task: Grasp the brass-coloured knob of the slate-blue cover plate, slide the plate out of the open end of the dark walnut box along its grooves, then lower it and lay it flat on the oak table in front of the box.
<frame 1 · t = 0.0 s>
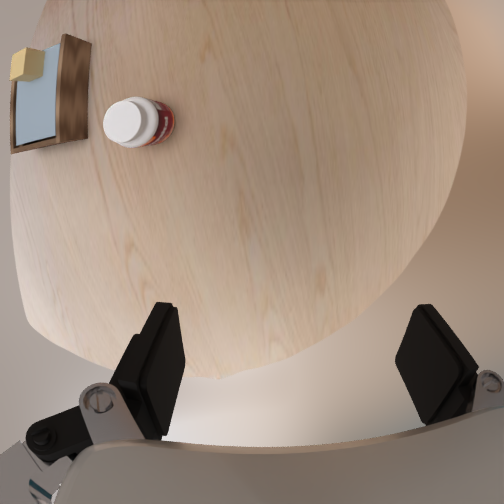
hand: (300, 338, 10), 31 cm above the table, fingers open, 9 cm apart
pill bottle: (155, 123, 36), on the table
walnut box: (61, 96, 33), on the table
cover plate: (38, 95, 27), point 6 cm above the table, touching walnut box
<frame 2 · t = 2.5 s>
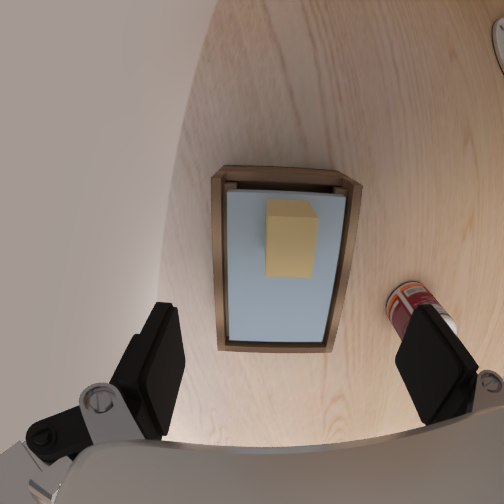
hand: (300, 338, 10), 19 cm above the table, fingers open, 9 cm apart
pill bottle: (405, 300, 33), on the table
walnut box: (277, 244, 30), on the table
cover plate: (281, 272, 24), point 6 cm above the table, touching walnut box
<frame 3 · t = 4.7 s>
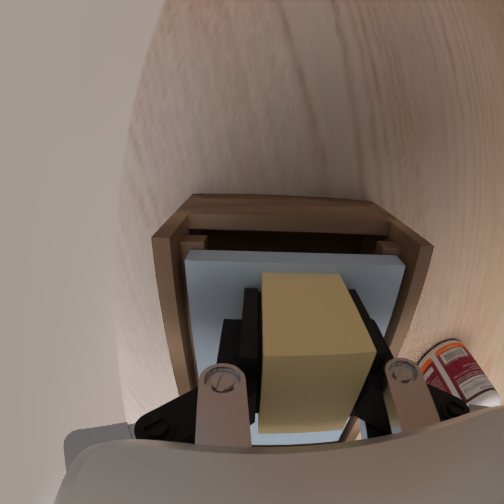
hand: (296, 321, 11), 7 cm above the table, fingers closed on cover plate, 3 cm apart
pill bottle: (438, 360, 23), on the table
walnut box: (277, 309, 20), on the table
cover plate: (284, 371, 14), point 6 cm above the table, touching gripper
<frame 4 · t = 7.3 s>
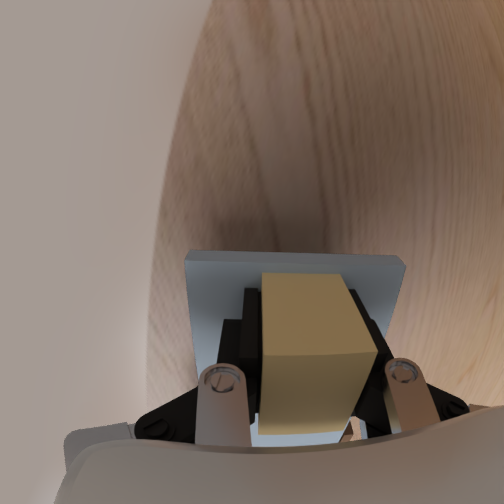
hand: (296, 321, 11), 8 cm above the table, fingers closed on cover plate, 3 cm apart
cover plate: (285, 372, 14), point 6 cm above the table, touching gripper
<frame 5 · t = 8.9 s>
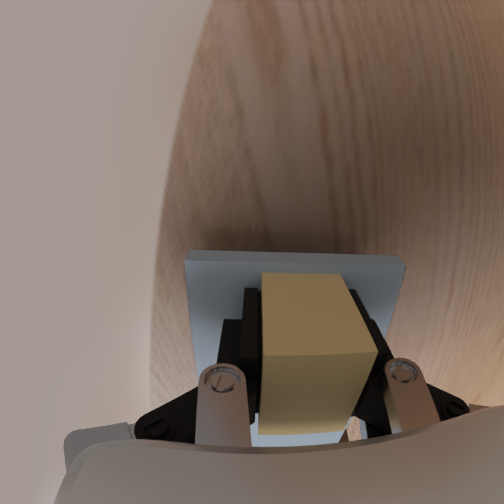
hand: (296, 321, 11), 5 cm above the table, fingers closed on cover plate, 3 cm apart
cover plate: (285, 372, 14), point 3 cm above the table, touching gripper
when the fingers open (3 cm above the table, at t = 9.9 s): cover plate drops 2 cm, on the table.
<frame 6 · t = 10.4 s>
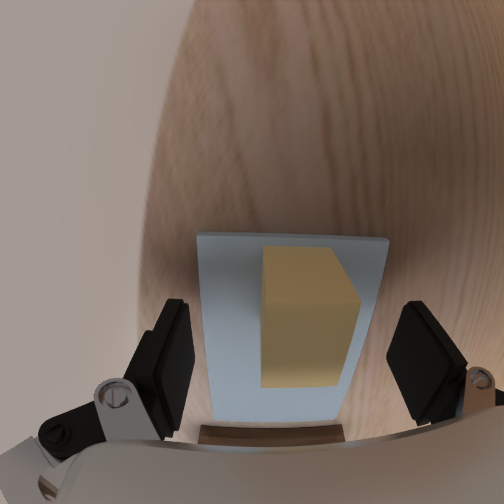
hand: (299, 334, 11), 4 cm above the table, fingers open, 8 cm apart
walnut box: (266, 466, 22), on the table
cover plate: (284, 344, 16), on the table
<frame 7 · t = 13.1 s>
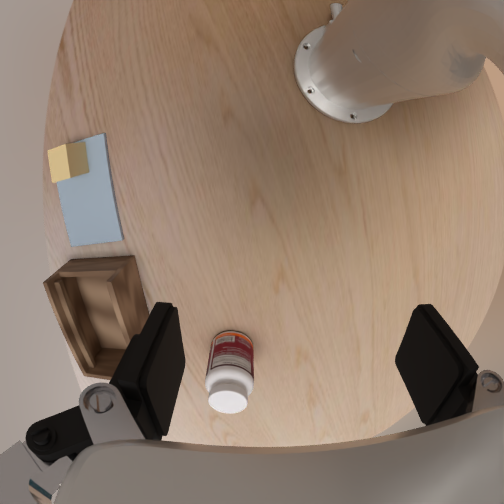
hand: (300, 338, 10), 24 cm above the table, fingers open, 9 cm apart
pill bottle: (232, 344, 41), on the table
walnut box: (114, 307, 39), on the table
cover plate: (87, 191, 33), on the table
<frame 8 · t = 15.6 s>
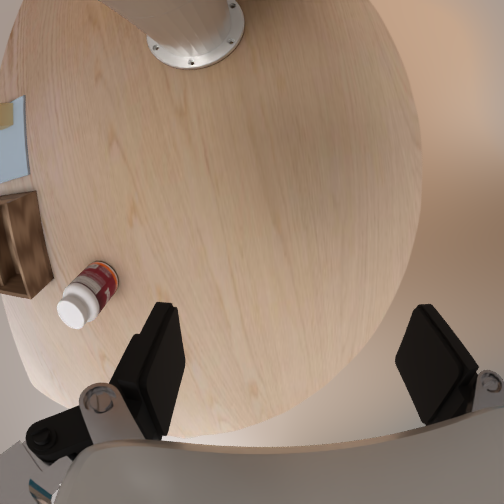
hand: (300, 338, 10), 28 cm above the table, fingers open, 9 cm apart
pill bottle: (103, 276, 42), on the table
walnut box: (24, 236, 39), on the table
cover plate: (12, 140, 33), on the table
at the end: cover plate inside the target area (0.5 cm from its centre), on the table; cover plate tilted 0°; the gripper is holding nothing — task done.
